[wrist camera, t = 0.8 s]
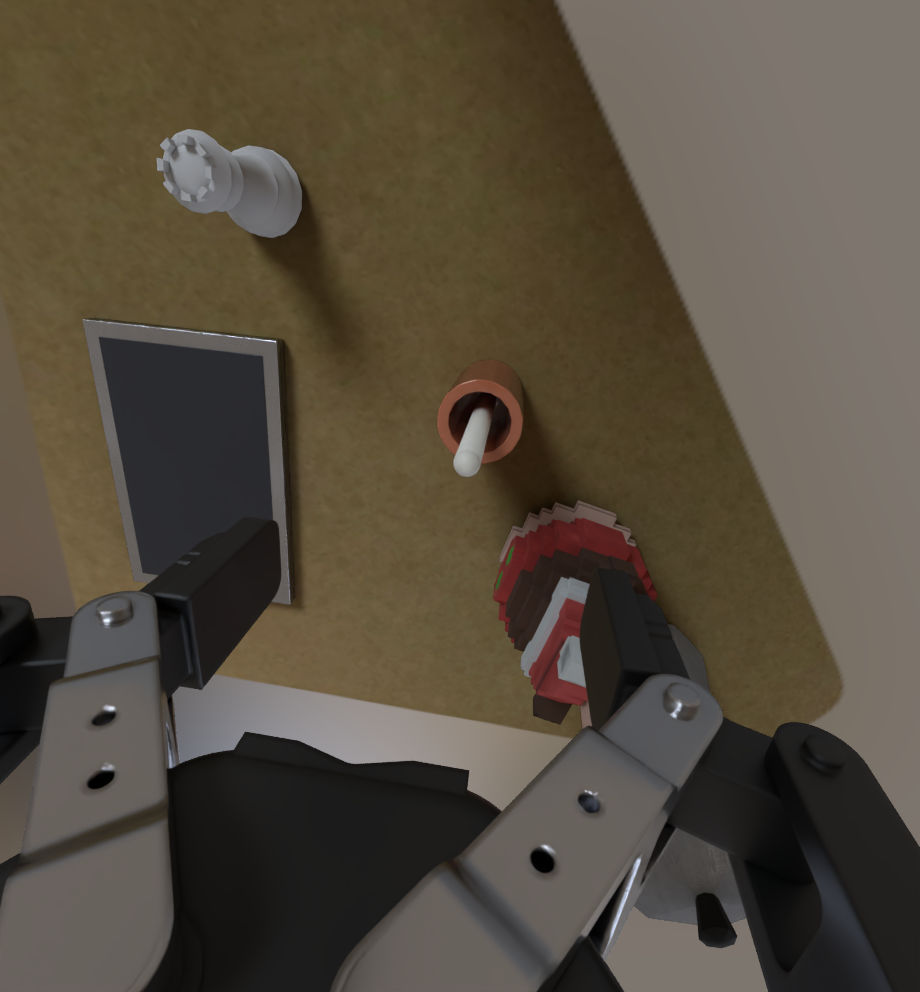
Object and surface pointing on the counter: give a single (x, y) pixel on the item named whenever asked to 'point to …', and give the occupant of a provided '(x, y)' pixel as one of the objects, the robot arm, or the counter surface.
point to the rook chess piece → (232, 182)
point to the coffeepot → (694, 863)
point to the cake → (560, 595)
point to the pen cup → (463, 400)
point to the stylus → (475, 436)
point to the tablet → (192, 437)
